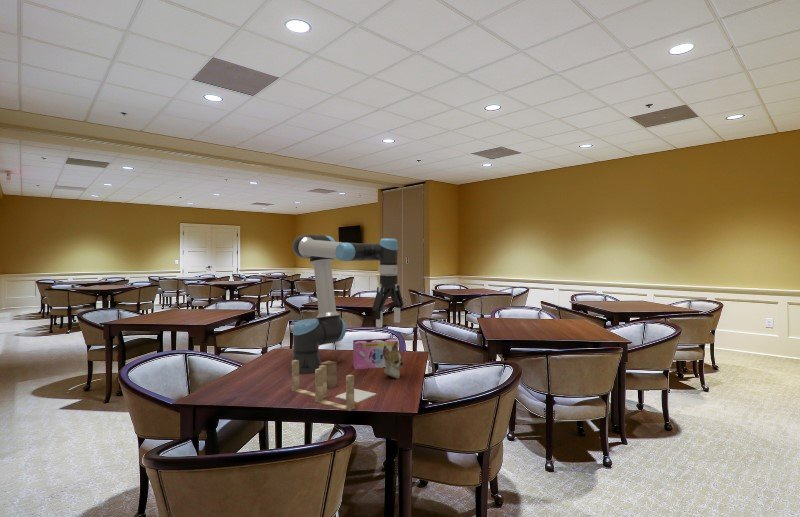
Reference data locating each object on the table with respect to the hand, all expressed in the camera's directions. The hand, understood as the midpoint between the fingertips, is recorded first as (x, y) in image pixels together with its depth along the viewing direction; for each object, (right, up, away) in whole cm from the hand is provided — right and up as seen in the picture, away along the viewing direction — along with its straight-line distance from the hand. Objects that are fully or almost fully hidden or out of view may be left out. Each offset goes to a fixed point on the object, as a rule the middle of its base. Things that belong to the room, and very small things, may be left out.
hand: (388, 324), depth 180 cm
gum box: (-6, -24, +25) cm, 35 cm away
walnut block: (-24, -24, -7) cm, 35 cm away
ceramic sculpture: (+2, -24, +5) cm, 25 cm away
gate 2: (-19, -24, -29) cm, 42 cm away
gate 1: (-30, -24, -16) cm, 42 cm away
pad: (-12, -24, -19) cm, 33 cm away
